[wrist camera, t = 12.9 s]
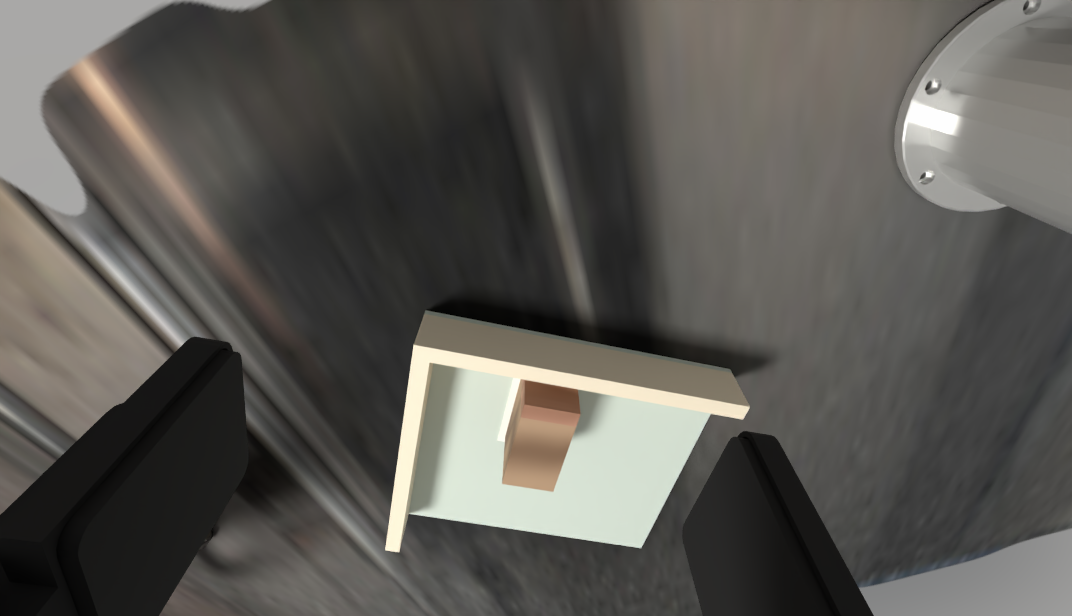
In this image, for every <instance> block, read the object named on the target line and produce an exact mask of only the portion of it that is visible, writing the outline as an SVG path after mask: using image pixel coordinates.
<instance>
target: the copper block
mask: <svg viewBox="0 0 1072 616" xmlns="http://www.w3.org/2000/svg"><path fill="white" fill-rule="evenodd" d="M580 415H581V413H580V404H579V395H578V389H573V388H567V387H562V386H556V385H551V384H545V383H540V382H534V381H529V380H523V379H520V383H519V387H518V391H517V394H516V398H515V402H514V406H513V409H512V413H511V417H510V421H509V424H508V428H507V432H506V435H505V446H504V461H503V476H502V484H505V485H512V486H518V487H525V488H531V489H538V490H544V491H550V492H553V491H554V488H555V485H556V483H557V480H558V477H559V474H560V471H561V468H562V466H563V463H564V460H565V457H566V454H567V452H568V449H569V446H570V443H571V440H572V437H573V435H574V432H575V429H576V426H577V423H578V420H579V418H580Z"/></svg>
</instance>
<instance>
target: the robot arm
mask: <svg viewBox="0 0 1072 616" xmlns="http://www.w3.org/2000/svg"><path fill="white" fill-rule="evenodd" d="M894 149H895V154H896V159H897V165H898V167H899V169H900V171H901V173H902V176H903V178H904V180H905V181H906V182H907V183H908V184H909V186H910V187H911V188H912V189H913V190H914V191H915V192H916V193H918V194H919V195H920V196H922V197H923V198H925V199H926V200H928V201H930V202H932V203H935V204H937V205H939V206H941V207H943V208H947V209H951V210H955V211H964V212H981V211H988V210H995V209H999V208H1003V207H1006V206H1009V207H1011V208H1014V209H1016V210H1018V211H1020V212H1023V213H1025V214H1027V215H1030V216H1032V217H1034V218H1036V219H1039V220H1041V221H1043V222H1045V223H1048V224H1050V225H1052V226H1054V227H1057V228H1059V229H1061V230H1064V231H1066V232H1068V233H1070V234H1072V0H995V1H993V2H991V3H989V4H987V5H985V6H984V7H982V8H980V9H978V10H977V11H976V12H974V13H973V14H972V15H970V16H969V17H968V18H966V19H965V20H964V21H962V22H961V23H959V24H958V25H957V26H956V27H955V28H954V29H953V30H952V31H951V32H950V33H949V34H948V35H947V36H946V37H944V38H943V39H942V40H941V41H940V42H939V43H938V44H937V46H936V47H935V48H934V49H933V51H932V52H931V53H930V54H929V56H928V57H927V58H926V59H925V61H924V62H923V63H922V64H921V66H920V68H919V69H918V71H917V73H916V74H915V76H914V78H913V80H912V81H911V83H910V85H909V86H908V89H907V91H906V94H905V96H904V98H903V101H902V103H901V106H900V109H899V113H898V117H897V122H896V126H895V142H894ZM248 459H249V455H248V442H247V428H246V414H245V401H244V387H243V373H242V359H241V355H240V353H238V352H233V350H232V346H231V345H230V343H228V342H223V341H218V340H212V339H206V338H200V337H192V338H190V339H189V340H187V341H186V342H185V343H184V344H183V345H182V346H181V347H180V348H179V349H178V350H177V351H176V352H175V353H174V354H173V355H172V356H171V357H170V358H169V359H168V360H167V361H166V362H165V363H164V364H163V365H162V366H161V367H160V368H159V369H158V370H157V371H156V372H155V373H154V374H153V375H152V376H151V377H150V378H149V379H148V380H147V381H145V382H144V383H143V384H142V385H141V386H140V387H139V388H138V389H137V390H136V391H135V392H134V393H133V394H132V395H131V396H130V397H129V398H128V399H127V400H126V401H125V402H124V403H122V404H119V405H116V406H114V407H113V408H112V409H110V410H109V411H108V412H107V413H106V414H104V415H103V416H102V417H101V418H100V419H99V420H98V421H97V422H96V423H95V424H94V425H93V426H92V427H91V428H90V429H89V430H88V431H87V432H86V433H85V434H84V435H83V436H82V437H81V438H80V439H79V440H78V441H77V442H76V443H74V444H73V445H72V446H71V447H70V448H69V449H68V450H67V451H66V452H65V453H64V454H63V455H62V456H61V457H60V458H59V459H58V460H57V461H56V462H55V463H54V464H53V465H52V466H51V467H50V468H49V469H48V470H47V471H45V472H44V473H43V474H42V475H41V476H40V477H39V478H38V479H37V480H36V481H35V482H34V483H33V484H32V485H31V486H30V487H29V488H28V489H27V490H26V491H25V492H24V493H23V494H22V495H21V496H20V497H19V498H18V499H17V500H15V501H14V502H13V503H12V504H11V505H10V506H9V507H8V508H7V509H6V510H5V511H4V512H3V513H2V514H1V515H0V616H159V614H160V613H161V611H162V610H163V608H164V606H165V605H166V603H167V601H168V600H169V598H170V596H171V595H172V593H173V592H174V590H175V588H176V587H177V585H178V583H179V582H180V580H181V578H182V577H183V575H184V574H185V572H186V570H187V569H188V567H189V565H190V564H191V562H192V560H193V559H194V557H195V555H196V554H197V552H198V551H199V549H200V547H201V546H202V544H203V542H204V541H205V539H206V537H207V536H208V534H209V533H210V531H211V529H212V528H213V526H214V524H215V523H216V521H217V519H218V518H219V516H220V515H221V513H222V511H223V510H224V508H225V506H226V505H227V503H228V501H229V500H230V498H231V497H232V495H233V493H234V492H235V490H236V488H237V487H238V485H239V483H240V482H241V480H242V478H243V476H244V474H245V472H246V469H247V466H248ZM682 537H683V544H684V547H685V551H686V555H687V558H688V562H689V566H690V570H691V573H692V577H693V581H694V584H695V588H696V592H697V595H698V599H699V603H700V607H701V610H702V614H703V616H874V615H873V614H872V612H871V610H870V608H869V606H868V604H867V603H866V601H865V599H864V597H863V595H862V594H861V592H860V590H859V588H858V586H857V584H856V582H855V581H854V579H853V577H852V575H851V573H850V571H849V570H848V568H847V566H846V564H845V562H844V560H843V559H842V557H841V555H840V553H839V551H838V549H837V548H836V546H835V544H834V542H833V540H832V538H831V537H830V535H829V533H828V531H827V529H826V527H825V526H824V524H823V522H822V520H821V518H820V516H819V515H818V513H817V511H816V509H815V507H814V505H813V504H812V502H811V500H810V498H809V496H808V494H807V493H806V491H805V489H804V487H803V485H802V483H801V482H800V480H799V478H798V476H797V474H796V473H795V471H794V469H793V467H792V465H791V463H790V462H789V460H788V458H787V456H786V454H785V452H784V451H783V449H782V447H781V445H780V443H779V441H778V440H777V439H776V438H775V437H774V436H771V435H766V434H760V433H754V432H748V431H743V432H742V433H740V434H739V436H738V437H733V438H731V439H730V441H729V442H728V444H727V446H726V448H725V449H724V451H723V453H722V455H721V457H720V459H719V460H718V462H717V464H716V466H715V468H714V470H713V471H712V473H711V475H710V477H709V479H708V481H707V482H706V484H705V486H704V488H703V490H702V492H701V493H700V495H699V497H698V499H697V501H696V503H695V504H694V506H693V508H692V510H691V512H690V514H689V515H688V517H687V519H686V521H685V523H684V526H683V533H682Z"/></svg>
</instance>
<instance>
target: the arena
mask: <svg viewBox="0 0 1072 616" xmlns="http://www.w3.org/2000/svg"><path fill="white" fill-rule="evenodd" d="M520 379H523V380H529V381H534V382H540V383H545V384H551V385H556V386H562V387H567V388H573V389H578V395H579V404H580V413H581V415H580V418H579V420H578V423H577V426H576V429H575V432H574V435H573V437H572V440H571V443H570V446H569V449H568V452H567V454H566V457H565V460H564V463H563V466H562V468H561V471H560V474H559V477H558V480H557V483H556V485H555V488H554V491H553V492H550V491H544V490H538V489H531V488H525V487H518V486H512V485H505V484H502V476H503V461H504V446H505V435H506V432H507V428H508V424H509V421H510V417H511V413H512V409H513V406H514V402H515V398H516V394H517V391H518V387H519V383H520ZM749 408H750V406H749V404H748V402H747V400H746V398H745V397H744V395H743V393H742V391H741V389H740V387H739V385H738V383H737V381H736V379H735V378H734V376H733V374H732V372H731V370H730V369H727V368H722V367H717V366H712V365H706V364H701V363H696V362H691V361H686V360H681V359H675V358H670V357H665V356H660V355H655V354H649V353H644V352H639V351H634V350H629V349H624V348H618V347H613V346H608V345H603V344H598V343H592V342H587V341H582V340H577V339H572V338H567V337H561V336H556V335H551V334H546V333H541V332H535V331H530V330H525V329H520V328H515V327H510V326H504V325H499V324H494V323H489V322H484V321H478V320H473V319H468V318H463V317H458V316H453V315H447V314H442V313H437V312H432V311H427V310H426V311H425V314H424V317H423V320H422V323H421V325H420V328H419V331H418V334H417V337H416V340H415V343H414V347H413V354H412V361H411V368H410V376H409V383H408V390H407V397H406V404H405V412H404V419H403V426H402V433H401V440H400V448H399V455H398V462H397V469H396V476H395V484H394V491H393V498H392V505H391V512H390V520H389V527H388V534H387V541H386V548H385V550H387V551H394V552H399V551H400V547H401V543H402V538H403V534H404V530H405V526H406V522H407V518H408V514H415V515H422V516H428V517H435V518H442V519H449V520H455V521H462V522H469V523H475V524H482V525H489V526H496V527H502V528H509V529H516V530H523V531H529V532H536V533H543V534H550V535H556V536H563V537H570V538H577V539H583V540H590V541H597V542H603V543H610V544H617V545H624V546H630V547H637V548H641V547H642V546H643V544H644V542H645V540H646V538H647V536H648V534H649V532H650V530H651V528H652V526H653V524H654V522H655V521H656V519H657V517H658V515H659V513H660V511H661V509H662V507H663V505H664V503H665V501H666V499H667V497H668V495H669V494H670V492H671V490H672V488H673V486H674V484H675V482H676V480H677V478H678V476H679V474H680V472H681V470H682V468H683V467H684V465H685V463H686V461H687V459H688V457H689V455H690V453H691V451H692V449H693V447H694V445H695V443H696V441H697V440H698V438H699V436H700V434H701V432H702V430H703V428H704V426H705V424H706V422H707V420H708V418H709V416H710V415H711V414H716V415H721V416H727V417H732V418H738V419H744V417H745V415H746V413H747V412H748V410H749Z"/></svg>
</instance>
